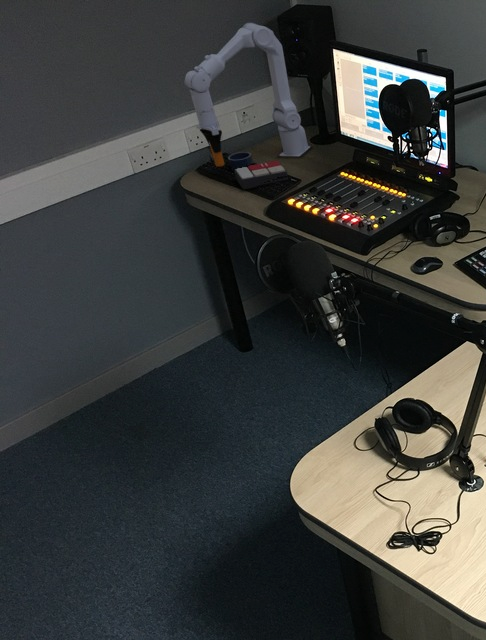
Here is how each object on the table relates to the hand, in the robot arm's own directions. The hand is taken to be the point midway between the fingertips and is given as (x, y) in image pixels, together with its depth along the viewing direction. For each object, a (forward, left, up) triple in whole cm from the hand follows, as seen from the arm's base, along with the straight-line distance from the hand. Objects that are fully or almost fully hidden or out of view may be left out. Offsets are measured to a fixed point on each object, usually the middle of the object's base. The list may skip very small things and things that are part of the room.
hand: (216, 150), depth 279 cm
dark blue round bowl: (-8, +3, -9) cm, 12 cm away
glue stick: (0, 0, -5) cm, 5 cm away
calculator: (+2, +16, -9) cm, 19 cm away
